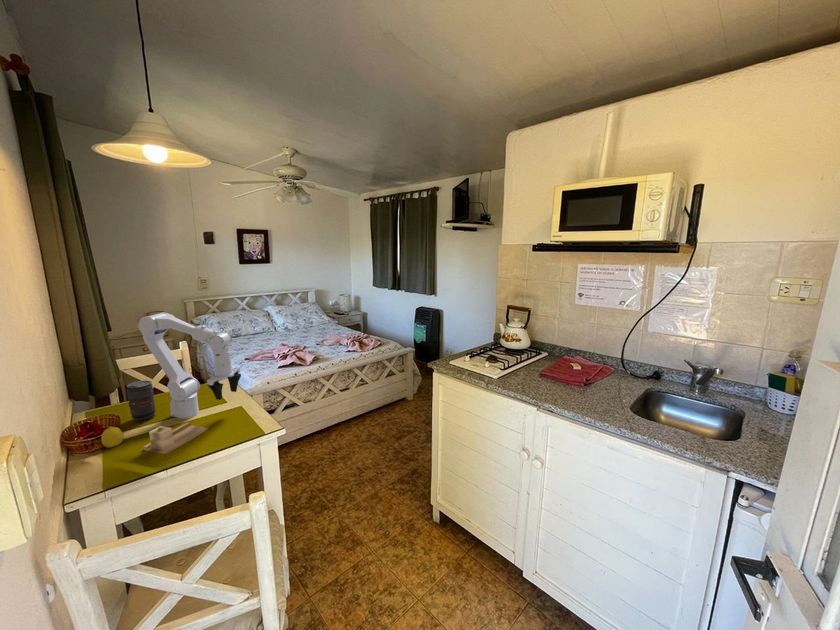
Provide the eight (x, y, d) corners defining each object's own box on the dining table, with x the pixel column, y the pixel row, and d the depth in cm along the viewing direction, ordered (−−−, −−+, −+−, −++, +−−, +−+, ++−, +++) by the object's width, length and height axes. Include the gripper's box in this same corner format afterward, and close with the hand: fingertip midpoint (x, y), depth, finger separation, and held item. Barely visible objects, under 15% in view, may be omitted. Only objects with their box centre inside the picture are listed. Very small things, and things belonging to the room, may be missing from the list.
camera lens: (146, 423, 137) (140, 388, 134) (126, 423, 137) (120, 387, 134) (162, 413, 145) (156, 380, 142) (143, 413, 145) (137, 379, 142)
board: (144, 453, 117) (142, 446, 116) (188, 428, 133) (187, 422, 132) (167, 458, 114) (166, 450, 114) (210, 432, 130) (209, 425, 130)
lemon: (107, 454, 116) (102, 432, 115) (101, 449, 119) (96, 428, 118) (127, 446, 121) (123, 425, 119) (121, 442, 124) (117, 421, 122)
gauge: (151, 448, 118) (148, 429, 116) (162, 441, 121) (160, 423, 120) (163, 450, 116) (160, 431, 115) (174, 443, 120) (171, 425, 119)
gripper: (216, 370, 129) (220, 404, 131) (244, 358, 143) (248, 389, 145) (201, 368, 131) (205, 402, 133) (230, 356, 144) (234, 387, 147)
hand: (226, 395), depth 139 cm, fingers open, 7 cm apart
